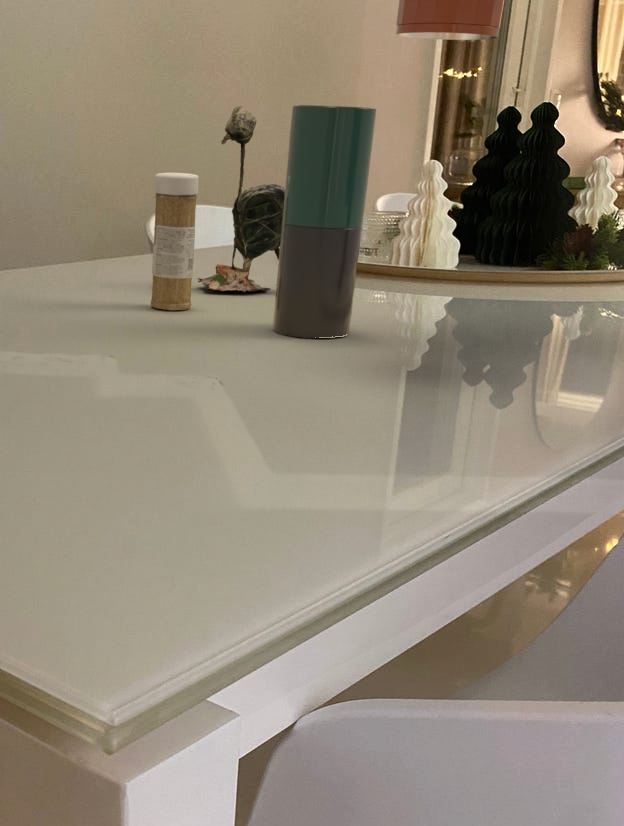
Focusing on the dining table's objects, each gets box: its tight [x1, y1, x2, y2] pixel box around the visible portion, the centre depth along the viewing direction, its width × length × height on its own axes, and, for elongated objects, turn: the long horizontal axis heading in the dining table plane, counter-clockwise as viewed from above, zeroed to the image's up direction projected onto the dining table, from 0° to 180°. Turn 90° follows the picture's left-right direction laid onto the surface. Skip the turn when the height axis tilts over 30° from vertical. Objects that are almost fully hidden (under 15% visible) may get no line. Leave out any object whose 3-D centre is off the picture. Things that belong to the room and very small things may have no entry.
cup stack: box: [272, 104, 377, 339], centre depth 100 cm, size 8×8×20 cm
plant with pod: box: [196, 105, 285, 293], centre depth 123 cm, size 8×11×20 cm
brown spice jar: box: [150, 172, 200, 311], centre depth 111 cm, size 5×5×13 cm
